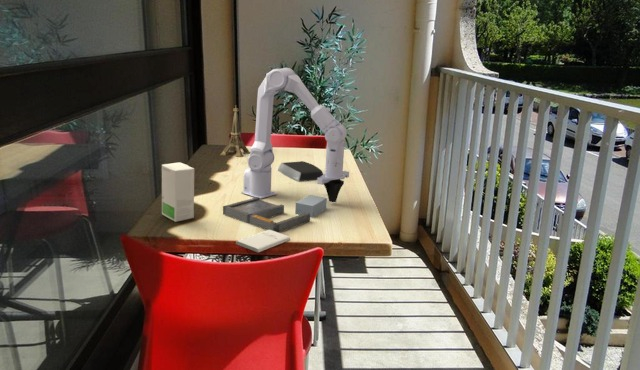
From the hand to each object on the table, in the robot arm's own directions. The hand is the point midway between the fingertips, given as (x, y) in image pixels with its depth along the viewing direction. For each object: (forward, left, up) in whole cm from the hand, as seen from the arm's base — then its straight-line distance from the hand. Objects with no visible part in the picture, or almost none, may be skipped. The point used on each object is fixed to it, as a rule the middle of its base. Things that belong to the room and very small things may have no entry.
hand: (332, 201), depth 178 cm
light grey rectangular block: (0, -11, -1) cm, 11 cm away
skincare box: (-24, -44, -1) cm, 50 cm away
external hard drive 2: (-33, +22, -2) cm, 40 cm away
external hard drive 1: (+8, -40, -2) cm, 41 cm away
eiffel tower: (-78, +27, -1) cm, 82 cm away
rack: (-5, -25, -1) cm, 25 cm away
